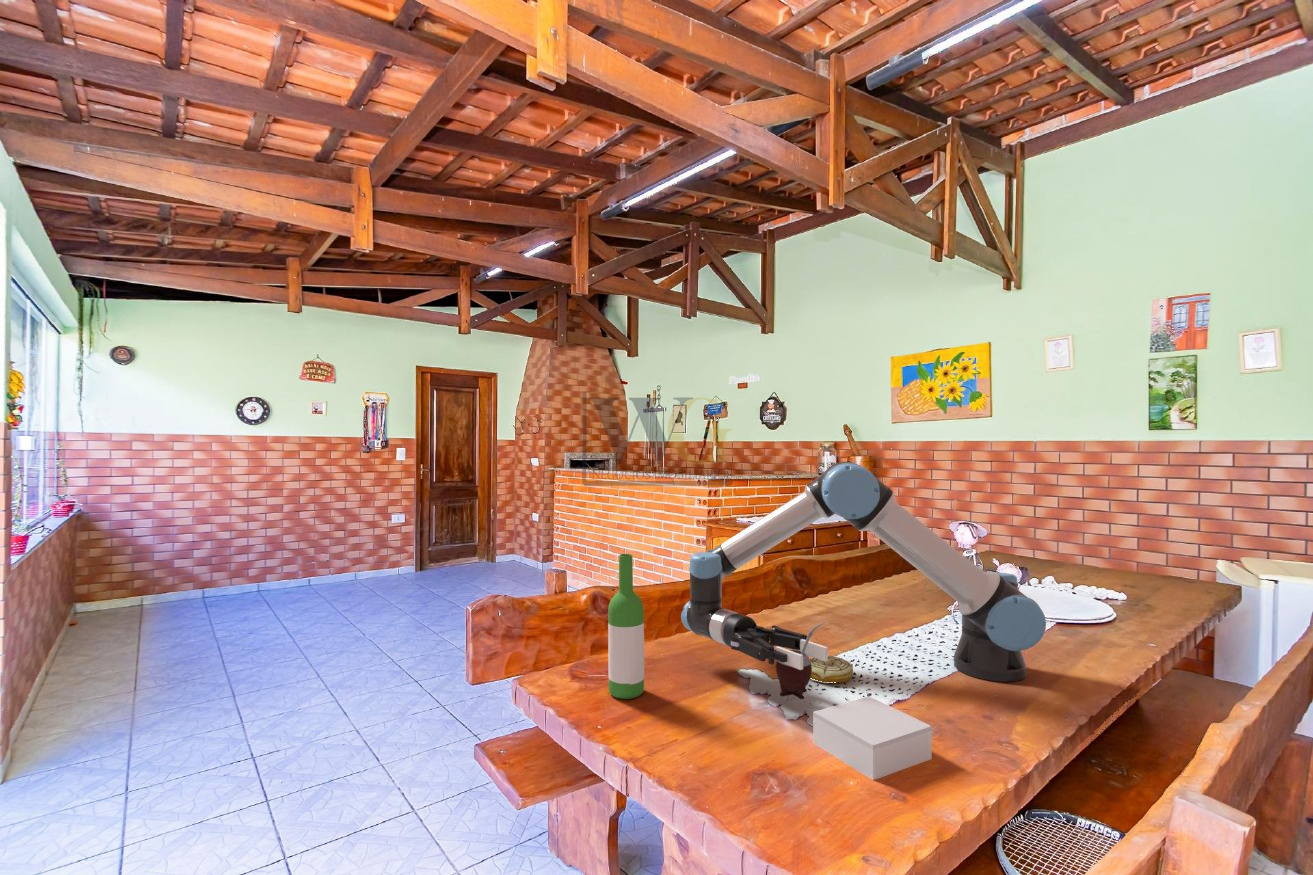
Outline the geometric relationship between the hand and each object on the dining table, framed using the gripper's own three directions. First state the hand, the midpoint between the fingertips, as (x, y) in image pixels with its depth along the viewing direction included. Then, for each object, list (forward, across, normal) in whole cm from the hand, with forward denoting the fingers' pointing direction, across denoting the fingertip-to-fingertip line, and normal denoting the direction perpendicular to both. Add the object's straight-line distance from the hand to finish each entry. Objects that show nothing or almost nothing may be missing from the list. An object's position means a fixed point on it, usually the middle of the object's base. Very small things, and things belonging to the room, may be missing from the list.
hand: (814, 658), depth 123 cm
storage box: (+14, +2, -12) cm, 19 cm away
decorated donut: (-13, -20, -12) cm, 27 cm away
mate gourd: (-5, 0, -9) cm, 10 cm away
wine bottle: (-33, +23, -12) cm, 42 cm away
